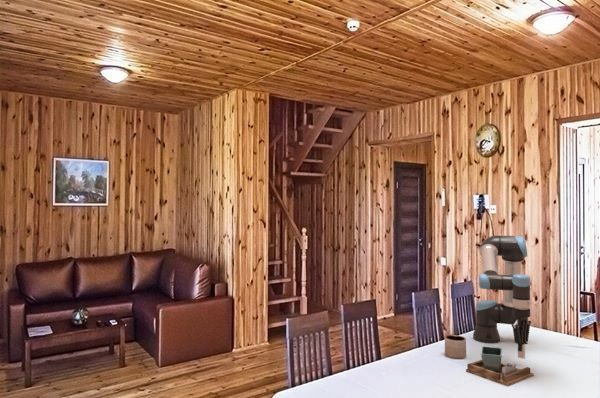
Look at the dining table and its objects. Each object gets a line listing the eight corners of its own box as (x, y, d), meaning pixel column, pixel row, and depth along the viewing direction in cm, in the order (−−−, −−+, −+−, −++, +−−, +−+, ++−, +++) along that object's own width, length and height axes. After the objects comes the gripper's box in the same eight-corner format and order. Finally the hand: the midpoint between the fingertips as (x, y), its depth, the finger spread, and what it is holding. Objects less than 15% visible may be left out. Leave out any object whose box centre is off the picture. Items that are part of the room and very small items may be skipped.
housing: (465, 371, 211) (465, 364, 211) (492, 363, 223) (492, 355, 223) (507, 386, 193) (507, 377, 193) (533, 376, 206) (533, 368, 206)
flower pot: (502, 365, 212) (501, 347, 211) (502, 374, 204) (501, 355, 204) (483, 363, 216) (482, 346, 215) (482, 372, 208) (481, 353, 207)
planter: (444, 357, 231) (443, 339, 231) (445, 351, 241) (445, 333, 241) (466, 360, 227) (465, 341, 227) (466, 354, 237) (466, 336, 237)
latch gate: (501, 378, 199) (501, 365, 199) (512, 374, 204) (512, 361, 204) (505, 379, 197) (505, 366, 197) (516, 375, 202) (516, 362, 202)
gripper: (521, 311, 200) (521, 362, 200) (536, 307, 208) (536, 357, 208) (506, 308, 207) (506, 358, 206) (521, 304, 214) (521, 352, 214)
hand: (521, 357), depth 207 cm, fingers closed
